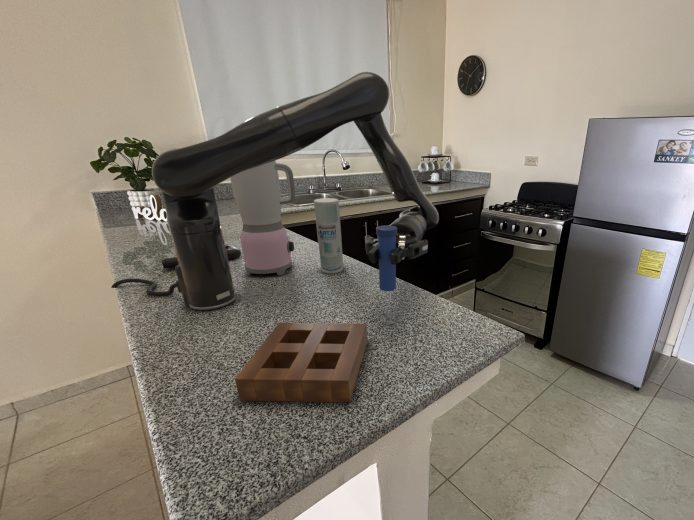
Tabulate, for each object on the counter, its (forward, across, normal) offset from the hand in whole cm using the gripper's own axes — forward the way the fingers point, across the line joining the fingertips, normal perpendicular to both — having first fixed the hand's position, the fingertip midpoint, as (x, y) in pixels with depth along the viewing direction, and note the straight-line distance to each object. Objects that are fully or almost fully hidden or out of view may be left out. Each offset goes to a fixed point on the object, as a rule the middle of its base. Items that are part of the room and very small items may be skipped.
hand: (382, 258), depth 63 cm
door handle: (-31, -67, +16) cm, 76 cm away
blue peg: (-3, 0, +7) cm, 8 cm away
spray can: (-31, -25, +16) cm, 43 cm away
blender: (-28, -40, +16) cm, 52 cm away
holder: (+13, -9, +16) cm, 22 cm away
